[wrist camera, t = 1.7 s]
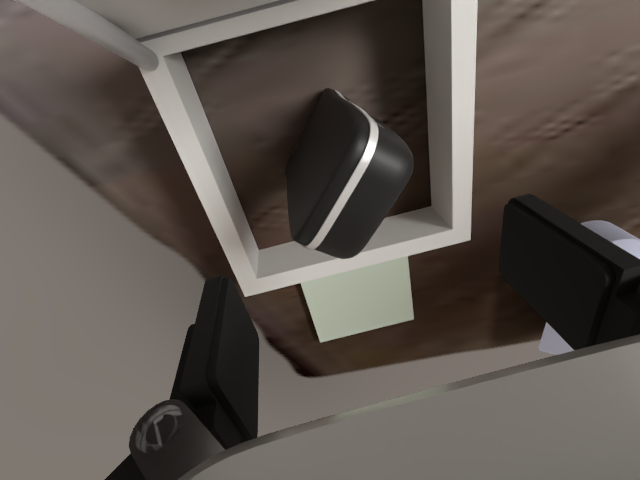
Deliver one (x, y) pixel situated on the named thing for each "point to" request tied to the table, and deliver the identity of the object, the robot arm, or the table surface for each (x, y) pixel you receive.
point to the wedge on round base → (617, 236)
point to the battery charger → (344, 177)
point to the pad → (360, 299)
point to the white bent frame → (204, 155)
